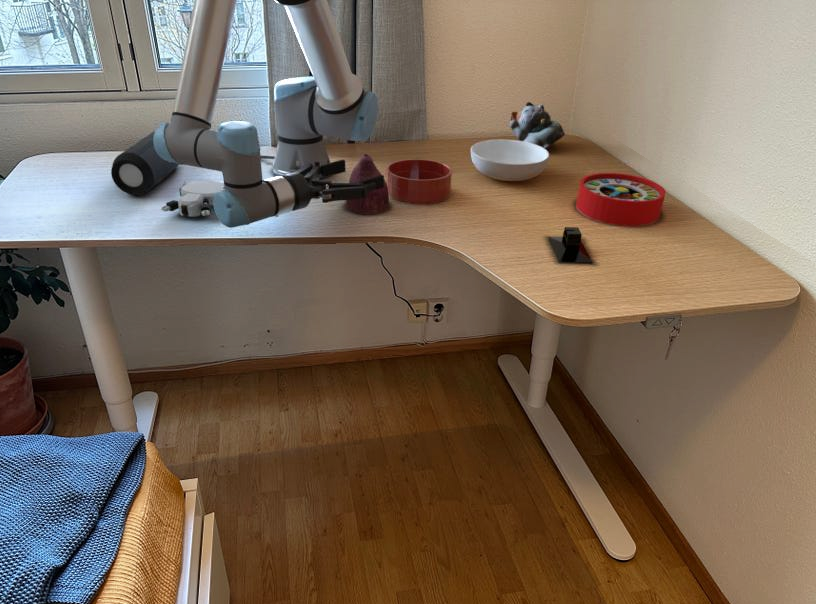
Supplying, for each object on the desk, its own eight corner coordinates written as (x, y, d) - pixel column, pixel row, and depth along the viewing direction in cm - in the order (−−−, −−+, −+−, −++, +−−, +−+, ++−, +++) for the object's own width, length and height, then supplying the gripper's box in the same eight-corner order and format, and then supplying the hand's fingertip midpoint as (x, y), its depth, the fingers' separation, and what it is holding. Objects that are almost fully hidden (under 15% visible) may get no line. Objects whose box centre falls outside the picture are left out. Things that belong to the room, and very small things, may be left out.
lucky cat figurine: (534, 155, 194) (518, 109, 189) (513, 160, 205) (496, 117, 200) (573, 135, 198) (557, 89, 193) (549, 140, 209) (534, 97, 204)
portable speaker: (153, 199, 155) (145, 157, 149) (112, 196, 155) (102, 154, 149) (192, 165, 176) (186, 127, 170) (155, 163, 176) (148, 124, 170)
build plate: (547, 238, 145) (551, 218, 142) (580, 239, 145) (584, 219, 142) (558, 262, 135) (562, 241, 132) (593, 263, 135) (598, 242, 132)
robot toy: (211, 227, 145) (238, 198, 156) (208, 208, 142) (235, 180, 153) (160, 221, 146) (190, 193, 158) (155, 202, 143) (186, 175, 155)
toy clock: (678, 186, 158) (644, 208, 145) (672, 210, 162) (638, 233, 149) (603, 167, 169) (565, 186, 156) (598, 189, 172) (561, 209, 159)
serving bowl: (458, 181, 173) (460, 155, 169) (482, 159, 189) (484, 135, 185) (535, 194, 167) (539, 167, 163) (553, 170, 183) (557, 146, 179)
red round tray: (373, 190, 165) (373, 167, 161) (418, 177, 174) (419, 155, 171) (417, 209, 156) (419, 185, 152) (463, 194, 165) (465, 171, 162)
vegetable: (381, 228, 154) (386, 174, 142) (339, 218, 154) (341, 162, 143) (393, 202, 160) (399, 148, 149) (352, 192, 161) (355, 138, 150)
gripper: (255, 194, 147) (329, 174, 160) (323, 228, 133) (399, 204, 146) (251, 161, 143) (328, 143, 156) (321, 193, 129) (400, 171, 141)
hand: (363, 173), depth 151 cm, fingers open, 13 cm apart
